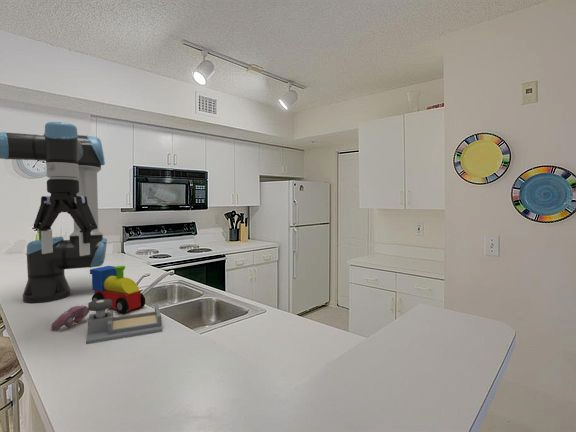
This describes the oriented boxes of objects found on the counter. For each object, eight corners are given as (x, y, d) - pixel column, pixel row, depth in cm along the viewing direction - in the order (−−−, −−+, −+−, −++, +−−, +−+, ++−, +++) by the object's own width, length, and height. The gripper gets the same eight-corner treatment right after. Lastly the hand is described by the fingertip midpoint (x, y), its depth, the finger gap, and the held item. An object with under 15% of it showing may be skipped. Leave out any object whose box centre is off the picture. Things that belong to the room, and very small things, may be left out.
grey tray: (91, 323, 102) (91, 309, 102) (157, 314, 110) (157, 300, 110) (86, 343, 88) (85, 327, 87) (162, 331, 96) (161, 316, 96)
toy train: (109, 300, 126) (108, 261, 125) (147, 308, 117) (146, 266, 116) (86, 307, 118) (85, 266, 117) (124, 316, 109) (123, 271, 108)
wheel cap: (89, 319, 97) (89, 299, 97) (112, 316, 100) (112, 297, 100) (87, 326, 92) (87, 305, 92) (112, 322, 94) (111, 302, 94)
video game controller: (60, 336, 96) (68, 316, 95) (48, 328, 97) (56, 308, 96) (87, 324, 106) (94, 305, 105) (75, 317, 106) (83, 298, 105)
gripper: (15, 179, 92) (19, 254, 93) (87, 177, 86) (89, 258, 87) (42, 180, 99) (45, 250, 101) (109, 179, 93) (112, 253, 94)
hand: (65, 254), depth 94 cm, fingers open, 13 cm apart
